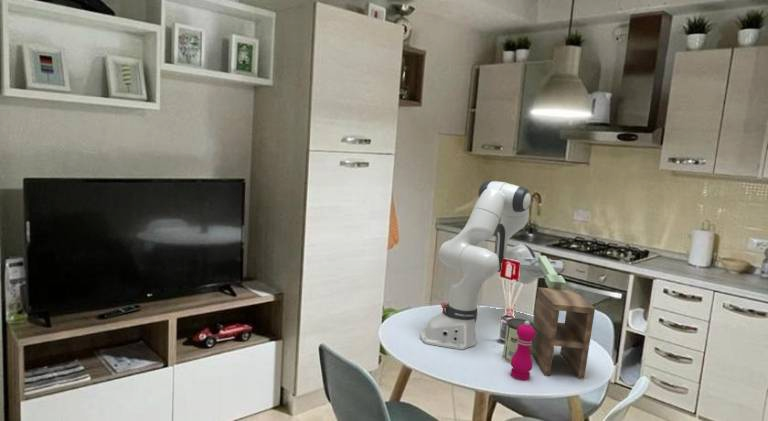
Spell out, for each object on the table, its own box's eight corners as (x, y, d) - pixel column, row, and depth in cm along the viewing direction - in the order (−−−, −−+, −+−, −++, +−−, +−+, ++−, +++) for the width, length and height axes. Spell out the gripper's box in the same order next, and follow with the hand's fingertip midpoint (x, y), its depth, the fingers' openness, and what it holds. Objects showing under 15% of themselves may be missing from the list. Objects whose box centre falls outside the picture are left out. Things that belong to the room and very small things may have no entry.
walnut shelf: (544, 375, 180) (554, 304, 177) (529, 351, 200) (538, 287, 196) (584, 379, 180) (595, 308, 176) (565, 354, 200) (574, 290, 196)
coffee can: (529, 355, 196) (534, 320, 194) (531, 367, 186) (536, 330, 184) (501, 351, 198) (506, 316, 196) (502, 362, 188) (507, 325, 186)
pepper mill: (533, 381, 175) (541, 325, 172) (513, 380, 175) (520, 324, 172) (526, 371, 182) (533, 317, 179) (506, 370, 182) (513, 316, 179)
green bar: (548, 288, 196) (550, 281, 195) (533, 261, 219) (535, 255, 218) (564, 289, 196) (566, 282, 195) (547, 262, 219) (549, 256, 218)
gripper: (510, 259, 229) (518, 250, 217) (556, 263, 229) (567, 254, 216) (510, 273, 227) (518, 264, 214) (556, 277, 227) (568, 269, 214)
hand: (543, 259), depth 215 cm, fingers closed on green bar, 3 cm apart
